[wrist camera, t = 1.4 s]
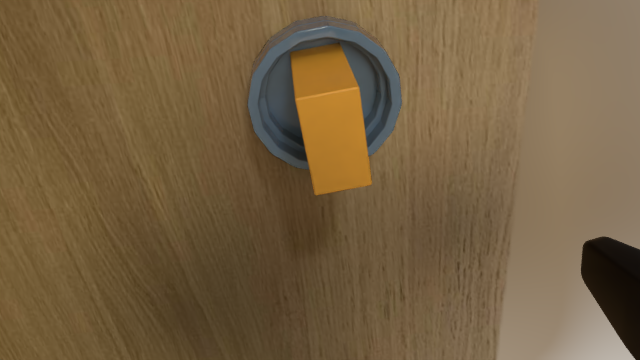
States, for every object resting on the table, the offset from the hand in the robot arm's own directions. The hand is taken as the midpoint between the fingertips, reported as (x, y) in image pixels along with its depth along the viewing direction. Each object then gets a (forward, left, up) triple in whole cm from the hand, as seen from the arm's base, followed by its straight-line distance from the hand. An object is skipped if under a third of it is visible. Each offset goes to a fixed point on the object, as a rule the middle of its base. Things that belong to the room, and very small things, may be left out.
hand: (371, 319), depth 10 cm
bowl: (0, 0, -13) cm, 13 cm away
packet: (0, 0, -12) cm, 12 cm away
